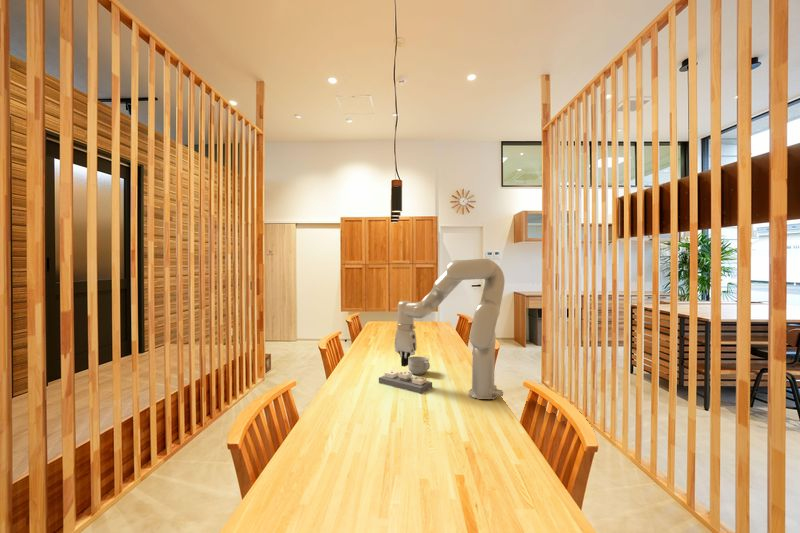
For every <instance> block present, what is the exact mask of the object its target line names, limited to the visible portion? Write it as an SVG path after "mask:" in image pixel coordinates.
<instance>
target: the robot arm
mask: <svg viewBox="0 0 800 533" xmlns="http://www.w3.org/2000/svg"><path fill="white" fill-rule="evenodd" d="M468 280H484V284H483V288H482V295H481V299H480V302H479V303H478V305H477V306H476V308H475V310H474V312H473V318H472V322H471V327H470V330H469V331H470V332H469V342H470V344H471V345H472V360H471V361H472V364H471V365H472V368H471V370H472V371H471V372H472V374H471V375H472V378H471V379H472V380H471V389H469V390H468V395H469V397H471V398H473V399H475V398H477V399H476V400H479V399H493V398H496V397H497V398H499V396H500V397H503V396H504V391H503V390H502V389H498V388H497V385H495V365H496V364H495V359H496V356H495V355H496V339H497V338H496V327H497V321H498V318H499V317H500V314H501V311H500V310H501V305H502V302H503V294H504V289H505V275H504V272H503V270H502V269H501V267H500V266H499V265H498V264H497V263H496V262H495V261H493V260H491V259H489V258H475V259H474V258H473V259H458V260H457V259H454V260H452V261H450V262H449V263H448V264H447V266H446V269H445V271H444V272H443V273H442V274H441V275H440V276H439V277H438V278H437V279H436V280H435V281H434V283H433V286H432V289H431V290H430V291H429V293H428V294H427V295H426V296H424V297H423V299H422V300H420V301H416V302H413V301H410V300H401V301H400V300H399V302H398V303H397V328H396V331H395V335H394V351H395V352H396V353H398V355H399V357H400V363H401V367H407V366H408V358H409V357H411V356H413V355H414V356H415V355H416V351H417V335H416V331H415V329H416V326H415V325H414V319H423V318H425V317H427V316H429V315H431V314H432V313H433V312H434V311H435V310H436V309H437V308H438V307H439V306H440V305H441V303H443V302H444V300H446V298H447V297H449V295H450V294H451V293H452V292H453V291H454V290H455V289H456V288H457V287H458V286H459V284H460V283H462V281H468ZM497 398H496V399H497ZM493 400H494V399H493Z"/></svg>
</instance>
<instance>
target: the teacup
mask: <svg viewBox="0 0 800 533" xmlns="http://www.w3.org/2000/svg"><path fill="white" fill-rule="evenodd" d="M429 360H430V358H428V357H426V356H425V357H424V356H419V355H418V356H415V355H414V356H410V357H408V367H407V368H408V370H409V371H408V372H411V373H412V375H413V374H414V375H417V376H418V375H419V376H420V375H425V373H427V372H428V370H430V368H431V365H430V361H429Z"/></svg>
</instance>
